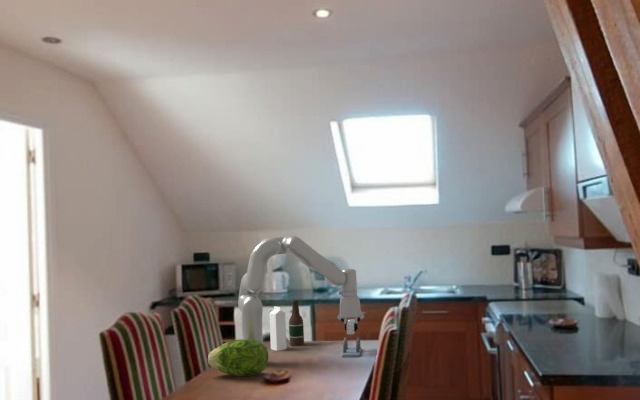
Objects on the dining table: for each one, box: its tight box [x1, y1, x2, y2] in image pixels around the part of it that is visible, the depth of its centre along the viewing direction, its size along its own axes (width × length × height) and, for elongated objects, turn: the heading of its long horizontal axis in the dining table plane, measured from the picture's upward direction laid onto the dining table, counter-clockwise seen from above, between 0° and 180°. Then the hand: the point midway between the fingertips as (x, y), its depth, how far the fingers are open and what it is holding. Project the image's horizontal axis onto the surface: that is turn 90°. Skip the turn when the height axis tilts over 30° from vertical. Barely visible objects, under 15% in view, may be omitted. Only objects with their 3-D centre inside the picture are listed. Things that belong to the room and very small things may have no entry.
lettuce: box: [207, 338, 269, 377], centre depth 252 cm, size 15×27×16 cm, turn 81°
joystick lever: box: [346, 318, 356, 335], centre depth 291 cm, size 17×5×4 cm, turn 173°
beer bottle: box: [288, 299, 305, 347], centre depth 315 cm, size 8×8×24 cm
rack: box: [342, 336, 362, 358], centre depth 288 cm, size 18×8×7 cm, turn 173°
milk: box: [269, 306, 288, 352], centre depth 305 cm, size 6×6×22 cm
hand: (351, 331), depth 289 cm, fingers closed on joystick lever, 3 cm apart
